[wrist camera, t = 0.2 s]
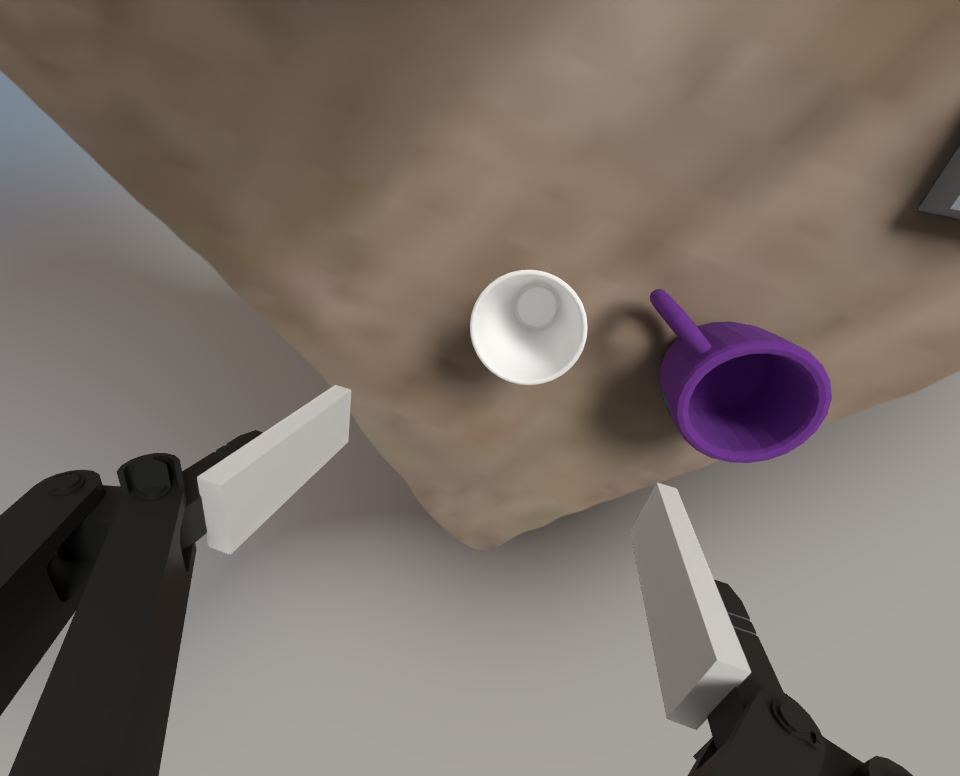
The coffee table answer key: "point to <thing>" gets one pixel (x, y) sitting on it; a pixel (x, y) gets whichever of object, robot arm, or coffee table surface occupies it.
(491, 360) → the cup
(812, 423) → the mug
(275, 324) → the coffee table surface
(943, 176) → the tray
